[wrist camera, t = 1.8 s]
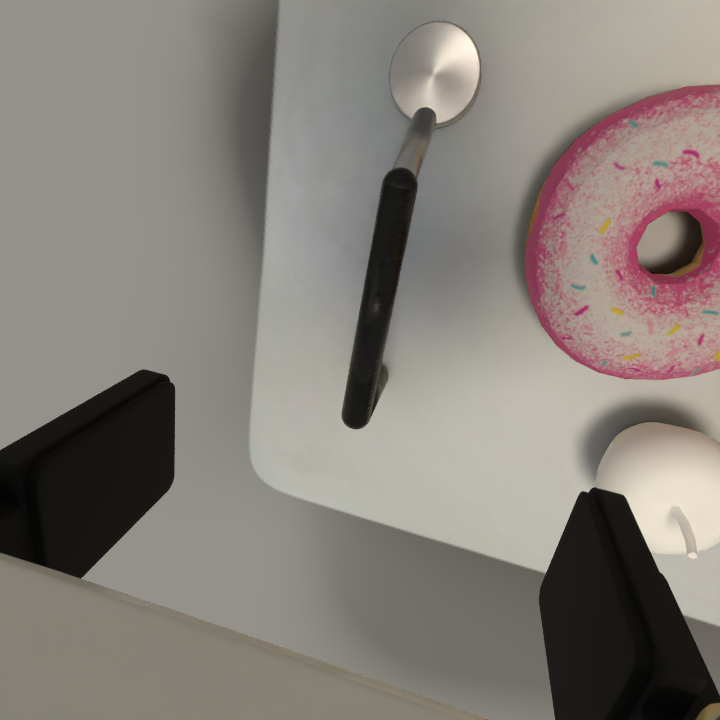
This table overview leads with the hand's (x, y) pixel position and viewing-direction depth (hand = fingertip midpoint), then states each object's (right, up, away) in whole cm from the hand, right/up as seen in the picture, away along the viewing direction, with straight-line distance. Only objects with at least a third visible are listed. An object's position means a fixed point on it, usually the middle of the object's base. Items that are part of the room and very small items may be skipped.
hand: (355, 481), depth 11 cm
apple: (+18, -3, +19) cm, 26 cm away
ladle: (+3, +10, +17) cm, 20 cm away
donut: (+16, +9, +15) cm, 23 cm away
